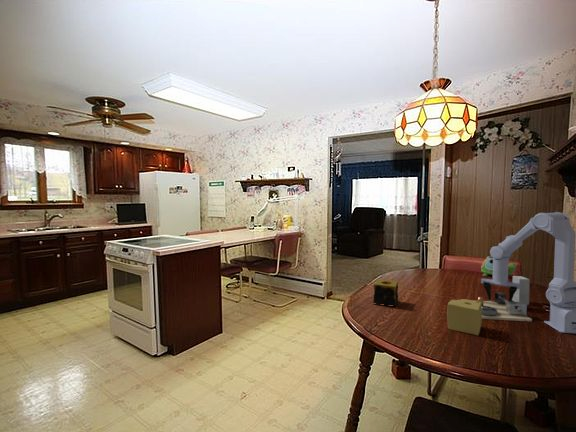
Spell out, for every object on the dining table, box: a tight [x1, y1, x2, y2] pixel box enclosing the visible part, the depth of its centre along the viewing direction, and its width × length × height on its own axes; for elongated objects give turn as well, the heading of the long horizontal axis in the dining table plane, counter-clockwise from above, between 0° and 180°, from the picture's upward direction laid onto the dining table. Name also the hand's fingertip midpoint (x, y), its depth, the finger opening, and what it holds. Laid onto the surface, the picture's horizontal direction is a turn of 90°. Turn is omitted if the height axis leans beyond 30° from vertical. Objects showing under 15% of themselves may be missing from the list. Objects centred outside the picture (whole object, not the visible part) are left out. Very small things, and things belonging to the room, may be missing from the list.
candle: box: [372, 279, 399, 306], centre depth 139 cm, size 10×10×10 cm
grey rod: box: [494, 291, 509, 304], centre depth 128 cm, size 12×3×4 cm, turn 169°
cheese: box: [446, 298, 483, 336], centre depth 111 cm, size 10×11×10 cm
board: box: [473, 300, 533, 322], centre depth 127 cm, size 20×20×1 cm
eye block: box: [506, 300, 528, 316], centre depth 120 cm, size 3×6×5 cm, turn 79°
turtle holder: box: [480, 255, 517, 277], centre depth 181 cm, size 12×18×12 cm
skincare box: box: [512, 275, 530, 306], centre depth 136 cm, size 6×4×12 cm
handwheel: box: [477, 296, 497, 316], centre depth 123 cm, size 9×9×5 cm
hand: (499, 301), depth 133 cm, fingers open, 7 cm apart
